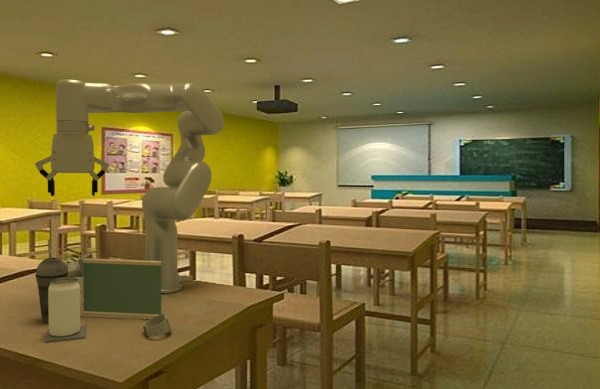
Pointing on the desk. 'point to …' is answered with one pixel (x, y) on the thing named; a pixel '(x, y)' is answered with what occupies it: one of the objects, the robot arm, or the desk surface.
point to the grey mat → (77, 336)
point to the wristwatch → (157, 325)
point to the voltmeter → (76, 265)
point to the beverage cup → (48, 280)
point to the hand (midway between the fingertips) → (73, 195)
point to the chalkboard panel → (121, 288)
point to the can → (64, 307)
